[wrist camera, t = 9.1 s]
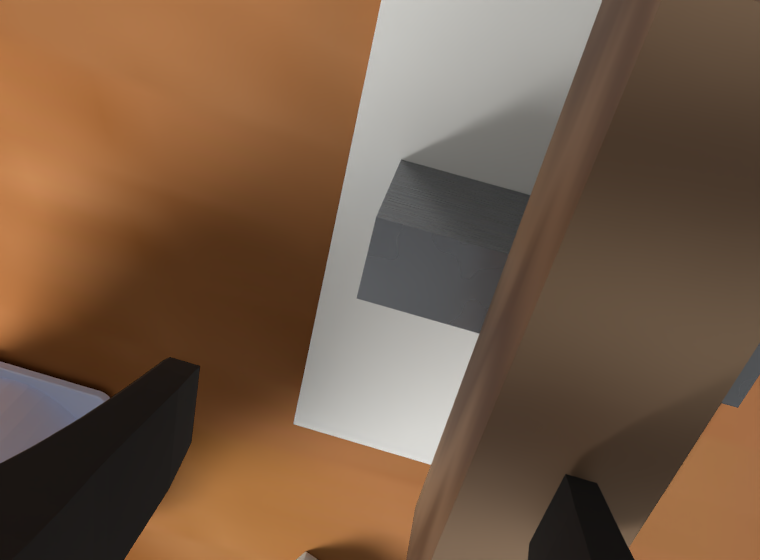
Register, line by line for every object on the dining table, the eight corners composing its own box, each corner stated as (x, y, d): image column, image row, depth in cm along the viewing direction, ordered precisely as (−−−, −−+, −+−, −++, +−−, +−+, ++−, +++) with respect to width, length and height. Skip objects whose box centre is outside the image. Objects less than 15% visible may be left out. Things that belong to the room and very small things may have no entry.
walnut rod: (526, 540, 21) (526, 707, 17) (415, 507, 21) (388, 664, 17) (807, -7, 13) (945, 51, 9) (622, -56, 13) (669, -22, 9)
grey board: (630, 503, 26) (633, 524, 26) (300, 406, 27) (293, 423, 26) (981, -75, 16) (1007, -72, 15) (432, -215, 17) (426, -220, 16)
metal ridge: (703, 321, 21) (737, 407, 18) (383, 230, 21) (356, 298, 18) (741, 253, 20) (787, 332, 16) (401, 159, 20) (376, 216, 17)
